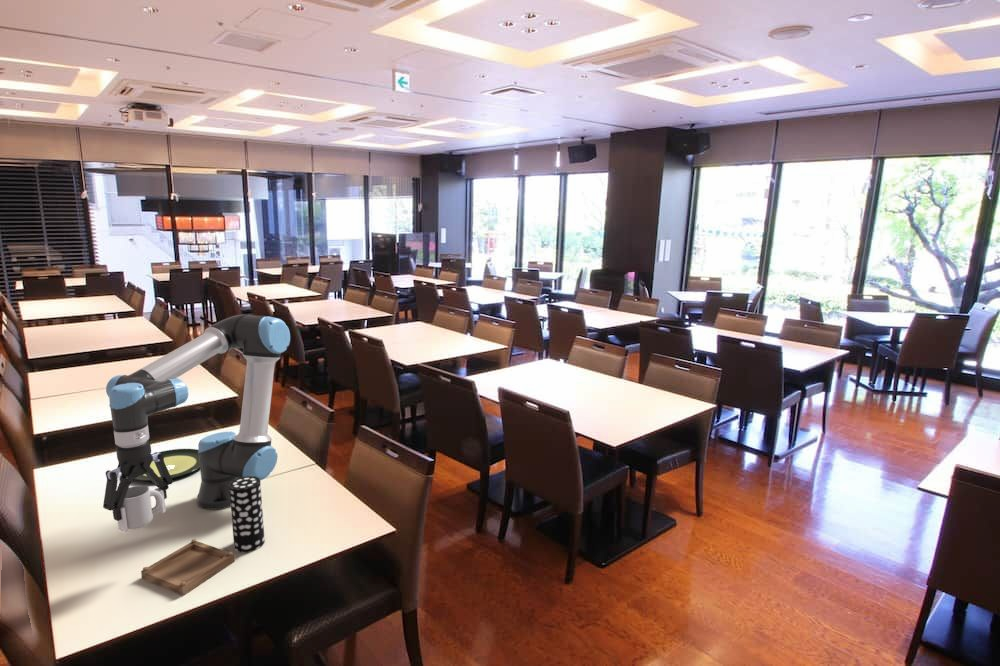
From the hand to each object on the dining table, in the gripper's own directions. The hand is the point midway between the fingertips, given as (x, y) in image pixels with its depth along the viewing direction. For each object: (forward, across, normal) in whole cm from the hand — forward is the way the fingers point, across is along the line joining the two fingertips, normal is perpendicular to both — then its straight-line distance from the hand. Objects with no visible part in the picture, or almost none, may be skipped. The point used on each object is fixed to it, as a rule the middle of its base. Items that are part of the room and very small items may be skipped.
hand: (142, 520), depth 149 cm
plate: (+16, +43, +55) cm, 72 cm away
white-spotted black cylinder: (+16, +21, -14) cm, 30 cm away
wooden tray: (+15, +5, -9) cm, 19 cm away
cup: (0, 0, 0) cm, 0 cm away
